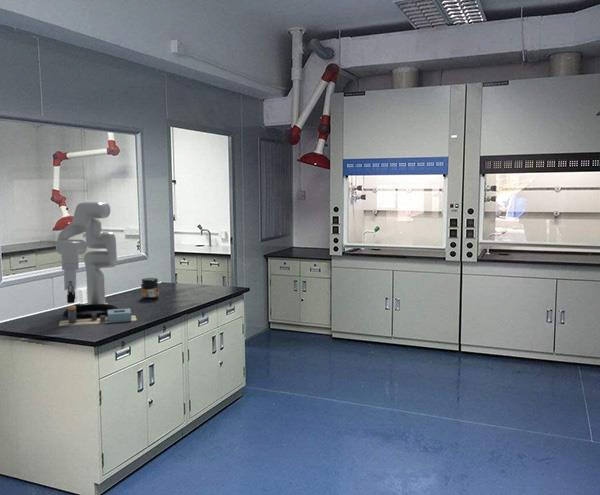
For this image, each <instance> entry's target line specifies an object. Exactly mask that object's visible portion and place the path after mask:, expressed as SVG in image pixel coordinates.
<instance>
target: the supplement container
mask: <svg viewBox="0 0 600 495" xmlns="http://www.w3.org/2000/svg"><path fill="white" fill-rule="evenodd" d="M158 282H159V279H158V278H156V277H146V278H142V279H141V283H140V284H141V285H140V289H141V290H140V292H141V295H140V296H141V299H143V300H146V301H148V300H149V301H150V300H151V301H152V300H153V301H154V300H157V299H159V297H160V289H159V287H160V285H159V283H158Z"/></svg>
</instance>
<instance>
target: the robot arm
mask: <svg viewBox="0 0 600 495" xmlns="http://www.w3.org/2000/svg"><path fill="white" fill-rule="evenodd" d="M110 214H111V206H110V204H109V203H108V202H106V201H105V202H104V201H103V202H102V201H101V202H99V201H98V202H97V201H96V202H94V201H82V202H79V203H78V204H77V205H76V206H75V209H74V212H73V217H72V221H71V223H70V224H68V225H67V226H65V227H64V228H62V230H61V231H60V232H59V234H58V236H57V240H56V243H55V251H56V253H57V254H58V255H61V270H62V271H63V275H64V276H63V277H64V279H63V280H64V281H63V282H64V285H63V286H64V287H63V288H64V291H67V292H66V293H67V294H66V298H67V299H66V302H67V304H74V303H75V300H76V291H75V290H76V287H77V270H80V269H79V267H80V266H79V265H80V264H79V255H81V256H82V255H83V254H84V256H83V262H84V265H85V266H84V267H85V272H86V273H85V274H86V276H85V277H86V298H87V299H86V301H87V303H85V304H84V305H88V304H109V302H106V288H105V286H106V284H105V274H104V272H103V271H102V269H103V268H104V269H105V268H107V269H108V268H109V269H110V268H111V269H112V268H115V267H116V266H117V262H118V258H117V257H118V256H117V255H118V254H117V238H116V235H115V234H114V232H112V231H102V222H101V220H100V219H107V218H108V217H109V216H110ZM83 233H85V240H84V239H71V238H72V237H75V236H77V235H78V236H79V235H81V234H83ZM88 248H89V249H93V250H91V251H87V250H88ZM94 249H95V250H94ZM100 249H102V250H100Z"/></svg>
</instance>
